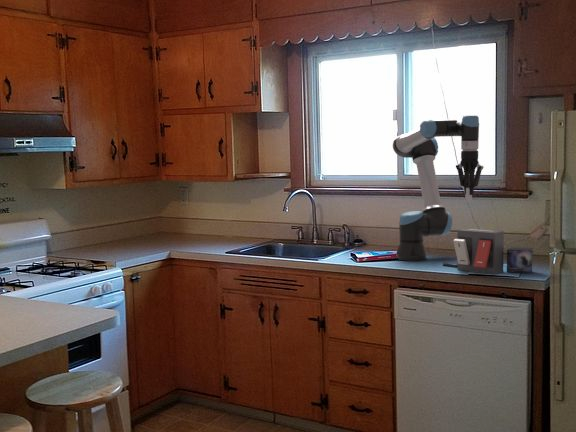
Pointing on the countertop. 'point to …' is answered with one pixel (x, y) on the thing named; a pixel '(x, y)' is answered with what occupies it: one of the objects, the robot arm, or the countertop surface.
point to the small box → (519, 260)
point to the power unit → (472, 244)
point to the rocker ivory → (461, 251)
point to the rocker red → (482, 254)
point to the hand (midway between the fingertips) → (468, 201)
